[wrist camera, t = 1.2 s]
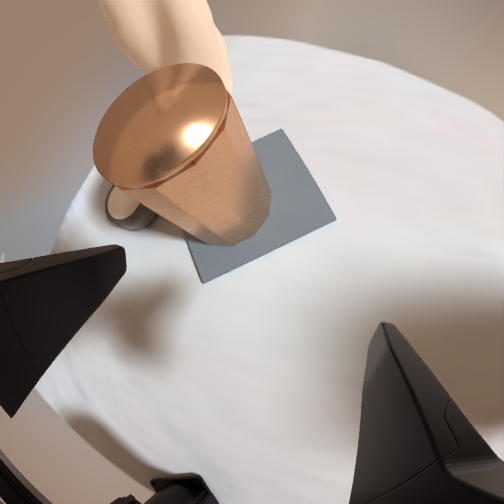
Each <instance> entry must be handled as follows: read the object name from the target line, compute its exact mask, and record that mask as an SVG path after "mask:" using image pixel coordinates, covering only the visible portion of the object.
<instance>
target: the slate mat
mask: <svg viewBox="0 0 504 504" xmlns="http://www.w3.org/2000/svg"><path fill="white" fill-rule="evenodd" d="M252 145H253V148H254V150H255V152H256V155H257V157H258V160H259V162H260V165H261V167H262V169H263V172H264V174H265V177H266V179H267V182H268V184H269V187H270V189H271V192H272V193H271V203H270V213H269V216H268V218H267V219H266V221H265V222H264V223H263V225H262V226H261V228H260V229H259V230H258V232H257V233H256V235H255V236H253V237H251V238H249V239H247V240H245V241H243V242H241V243H239V244H237V245H235V246H233V247H232V246H216V245H208V244H206V243H205V242H203V241H201V240H200V239H198V238H197V237H195V236H193V235H192V234H190V233H188V232H187V231H185V230H184V233H185V236H186V239H187V242H188V244H189V247H190V250H191V253H192V255H193V258H194V261H195V263H196V266H197V269H198V271H199V274H200V277H201V279H202V282H203V283H206V282H208V281H211V280H213V279H215V278H217V277H219V276H221V275H223V274H225V273H227V272H229V271H231V270H234V269H236V268H238V267H240V266H242V265H244V264H246V263H248V262H250V261H252V260H254V259H256V258H259V257H261V256H263V255H265V254H267V253H269V252H271V251H273V250H275V249H277V248H279V247H281V246H283V245H285V244H288V243H290V242H292V241H294V240H296V239H298V238H300V237H302V236H304V235H306V234H308V233H310V232H312V231H314V230H316V229H318V228H320V227H323V226H325V225H327V224H329V223H331V222H333V221H335V220H336V217H335V215H334V213H333V212H332V210H331V208H330V206H329V204H328V203H327V201H326V199H325V197H324V196H323V194H322V192H321V191H320V189H319V187H318V185H317V184H316V182H315V180H314V179H313V177H312V175H311V174H310V172H309V170H308V169H307V167H306V165H305V164H304V162H303V161H302V159H301V157H300V156H299V154H298V153H297V151H296V150H295V148H294V146H293V145H292V143H291V142H290V140H289V139H288V137H287V136H286V134H285V133H284V131H283V130H282V129H280V130H278V131H275V132H273V133H271V134H269V135H267V136H264V137H262V138H260V139H258V140H256V141H254V142H252Z"/></svg>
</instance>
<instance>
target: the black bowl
mask: <svg viewBox="0 0 504 504" xmlns="http://www.w3.org/2000/svg"><path fill="white" fill-rule="evenodd" d="M105 211H106V215H107V217H108V219H109V220H110V221H112V222H113V223H115V224H118V225H120V226H122V227H124V228H126V229H128V230H132V231H137V230H140V229H143V228H144V227H146V226H147V225H148V224H149V223H150V222H151V221H152V220H153V219H154V217H155V215H156V212H154V211H153V210H151V209H149V208H148V207H146V206H145V205H143V204H141V203H140V202H138V201H137V200H135V199H133V198H132V197H130V196H129V195H127V194H125V193H124V192H122V191H121V190H120V189H119V188H117V187H116V186H115V185H113V186H112V187H111V189H110V191H109V193H108V195H107V198H106V202H105Z"/></svg>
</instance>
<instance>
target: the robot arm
mask: <svg viewBox="0 0 504 504" xmlns="http://www.w3.org/2000/svg"><path fill="white" fill-rule="evenodd" d="M126 268H127V266H126V254H125V249H124V248H123V247H122V246H119V245H107V246H101V247H95V248H88V249H82V250H76V251H70V252H64V253H58V254H52V255H47V256H41V257H35V258H33V259H32V258H29V259H23V260H18V261H11V262H5V263H0V405H1V407H2V408H3V409H4V410H5V412H6V413H7V414H8V415H9V416H10V417H11V418H12V417H13V416H14V415H15V413H16V412H17V410H18V409H19V408H20V406H21V405H22V403H23V402H24V400H25V399H26V397H27V396H28V395H29V393H30V392H31V391H32V389H33V388H34V387H35V385H36V384H37V382H38V381H39V380H40V378H41V377H42V375H43V374H44V373H45V371H46V370H47V369H48V368H49V366H50V365H51V364H52V362H53V361H54V360H55V359H56V357H57V356H58V355H59V354H60V352H61V351H62V350H63V349H64V347H65V346H66V345H67V344H68V342H69V341H70V340H71V339H72V338H73V336H74V335H75V334H76V333H77V332H78V330H79V329H80V328H81V327H82V326H83V325H84V323H85V322H86V321H87V320H88V319H89V318H90V316H91V315H92V314H93V313H94V312H95V311H96V310H97V308H98V307H99V306H100V305H101V304H102V303H103V302H104V300H105V299H106V298H107V296H108V295H109V294H110V292H111V291H112V290H113V288H114V287H115V286H116V284H117V283H118V282H119V280H120V279H121V278H122V276H123V275H124V274H125V272H126ZM449 397H450V395H449V394H448V393H447V391H446V390H445V389H444V387H443V386H442V385H441V383H440V382H439V381H438V379H437V378H436V377H435V375H434V374H433V373H432V371H431V370H430V369H429V368H428V366H427V365H426V364H425V363H424V361H423V360H422V359H421V357H420V356H419V355H418V354H417V352H416V351H415V350H414V349H413V348H412V346H411V345H410V344H409V343H408V341H407V340H406V339H405V338H404V337H403V335H402V334H401V333H400V332H399V330H398V329H397V328H396V327H395V326H394V325H393V324H391V323H386V322H381V323H380V324H379V325H378V327H377V329H376V331H375V333H374V335H373V337H372V339H371V342H370V344H369V348H368V356H367V363H366V370H365V377H364V383H363V391H362V406H361V420H360V431H359V441H358V450H357V458H356V465H355V472H354V478H353V485H352V490H351V496H350V501H349V504H504V461H502V460H501V459H500V458H499V457H498V456H497V455H496V454H495V453H494V451H493V450H492V449H491V448H490V446H489V445H488V444H487V443H486V441H485V440H484V439H483V438H482V436H481V435H480V434H479V433H478V432H477V430H476V429H475V428H474V427H473V425H472V424H471V423H470V422H469V421H468V419H467V418H466V417H465V415H464V414H463V413H462V411H461V410H460V409H459V407H458V406H457V405H456V403H455V402H454V401H453V399H452V398H451V397H450V398H449ZM196 479H197V480H199V481H197V480H196ZM154 482H155V483H154ZM150 483H151V485H152V487H153V488H154V490H155V491H156V493H155V494H154V495H153V496H152V497H151V498H150V499H149V500H148V501H147V502H145V503H144V504H219V502H218V501H217V499H216V498H215V496H214V495H213V493H212V492H211V491H210V489H209V488H208V486H207V485H206V483H205V481H204V480H203V478H202V477H200V476H188V477H177V478H160V479H152V480H151V481H150ZM0 497H1V498H2V499H3V500H4V502H5V503H6V504H52V503H51V502H50V501H49V500H48V499H47V498H46V497H45V496H44V495H42V494H41V493H40V492H39V491H38V490H37V489H36V488H35V487H34V486H33V485H32V484H31V483H30V482H29V481H28V480H27V479H26V478H25V477H24V476H23V475H22V474H21V473H20V472H19V471H18V469H17V468H16V467H15V466H14V465H13V464H12V463H11V462H10V460H9V459H8V458H7V457H6V456H5V455H4V453H3V452H2V451H1V450H0ZM0 504H3V503H2V502H1V501H0ZM110 504H141V503H140V502H139V501H137V500H136V499H135V497H134V496H132V495H131V494H130V495H129V496H127V497H123V498H120V497H119V498H117V499H116V500H115V501H113V502H112V503H110Z"/></svg>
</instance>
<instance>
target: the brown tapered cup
mask: <svg viewBox="0 0 504 504" xmlns="http://www.w3.org/2000/svg"><path fill="white" fill-rule="evenodd" d="M93 158H94V163H95V166H96V168H97V170H98V172H99V173H100V174H101V175H102V176H103V177H104V178H105V179H107V180H108V181H110V182H111V183H113V184H114V185H115V186H116V187H117V188H119V189H120V190H121V191H122V192H124V193H125V194H127V195H129V196H130V197H132V198H133V199H135V200H137V201H138V202H140V203H141V204H143V205H145V206H146V207H148V208H149V209H151V210H153V211H154V212H156V213H157V214H159V215H161V216H162V217H164V218H166V219H167V220H169V221H170V222H172V223H174V224H175V225H177V226H179V227H180V228H182V229H183V230H185V231H187V232H188V233H190V234H192V235H193V236H195V237H197V238H198V239H200V240H201V241H203V242H205V243H206V244H208V245H216V246H232V247H233V246H235V245H237V244H239V243H241V242H243V241H245V240H247V239H249V238H251V237H253V236H255V235H256V233H257V232H258V230H259V229H260V228H261V226H262V225H263V223H264V222H265V221H266V219H267V218H268V216H269V213H270V203H271V193H272V192H271V189H270V187H269V184H268V182H267V179H266V177H265V174H264V172H263V169H262V167H261V165H260V162H259V160H258V157H257V155H256V152H255V150H254V148H253V145H252V143H251V140H250V138H249V136H248V133H247V131H246V129H245V126H244V124H243V122H242V119H241V117H240V115H239V112H238V110H237V108H236V105H235V103H234V101H233V99H232V96H231V95H230V94H229V92H228V91H227V89H226V88H225V86H224V84H223V82H222V80H221V78H220V76H219V75H218V74H217V73H216V72H215V71H214V70H212V69H211V68H209V67H207V66H204V65H201V64H195V63H181V64H174V65H170V66H166V67H163V68H160V69H158V70H155V71H153V72H151V73H149V74H147V75H145V76H144V77H142V78H141V79H139V80H137V81H136V82H135V83H133V84H132V85H131V86H129V87H128V88H127V89H126V90H125V91H124V92H123V93H122V94H121V95H120V96H119V97H118V98H117V99H116V100H115V101H114V102H113V104H112V105H111V106H110V107H109V109H108V110H107V112H106V113H105V115H104V117H103V118H102V120H101V122H100V125H99V127H98V129H97V132H96V135H95V139H94V145H93Z"/></svg>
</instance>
